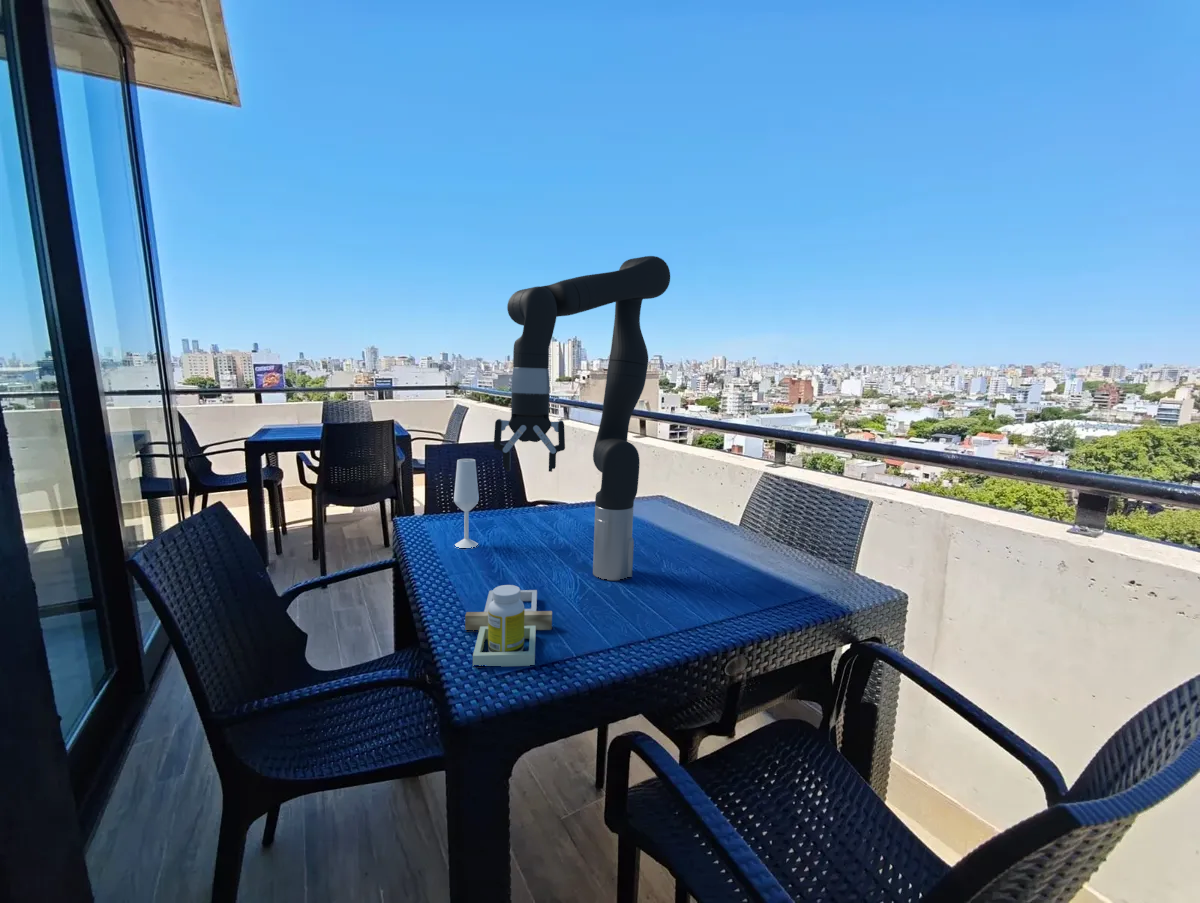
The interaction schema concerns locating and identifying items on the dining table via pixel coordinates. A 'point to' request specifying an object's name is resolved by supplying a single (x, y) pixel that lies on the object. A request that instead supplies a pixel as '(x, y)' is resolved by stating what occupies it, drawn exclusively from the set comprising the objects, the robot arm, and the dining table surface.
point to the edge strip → (530, 619)
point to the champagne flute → (466, 495)
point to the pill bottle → (506, 620)
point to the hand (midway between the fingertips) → (529, 470)
